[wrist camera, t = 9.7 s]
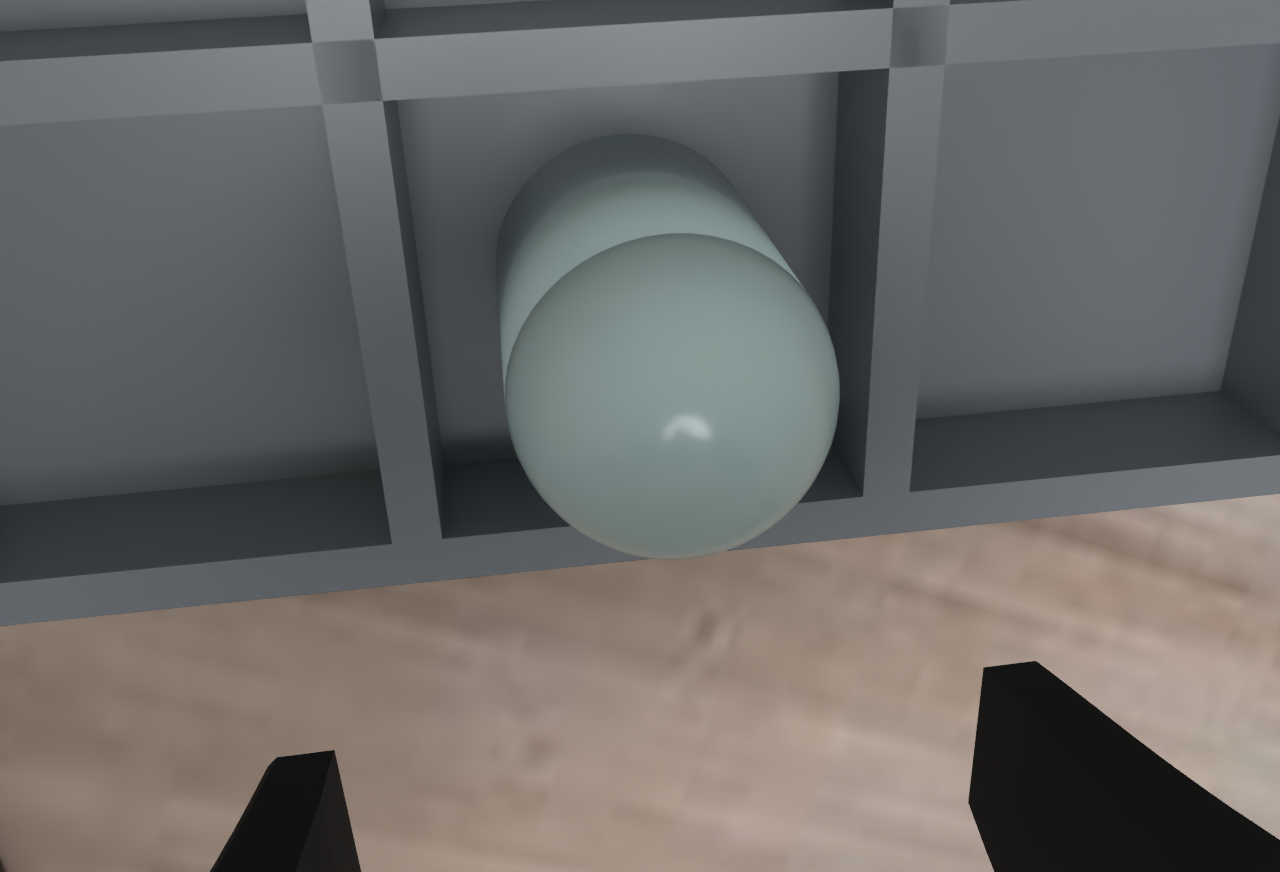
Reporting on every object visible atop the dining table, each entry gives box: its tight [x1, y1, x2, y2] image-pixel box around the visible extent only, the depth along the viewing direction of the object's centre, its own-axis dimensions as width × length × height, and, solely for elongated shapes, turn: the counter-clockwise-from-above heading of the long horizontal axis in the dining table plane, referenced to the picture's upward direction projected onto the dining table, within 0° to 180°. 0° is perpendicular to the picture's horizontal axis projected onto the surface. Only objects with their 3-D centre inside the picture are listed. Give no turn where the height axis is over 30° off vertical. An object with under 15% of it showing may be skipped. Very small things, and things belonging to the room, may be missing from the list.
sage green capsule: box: [496, 134, 840, 560], centre depth 17 cm, size 4×4×7 cm
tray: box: [0, 0, 1280, 626], centre depth 18 cm, size 24×16×4 cm
